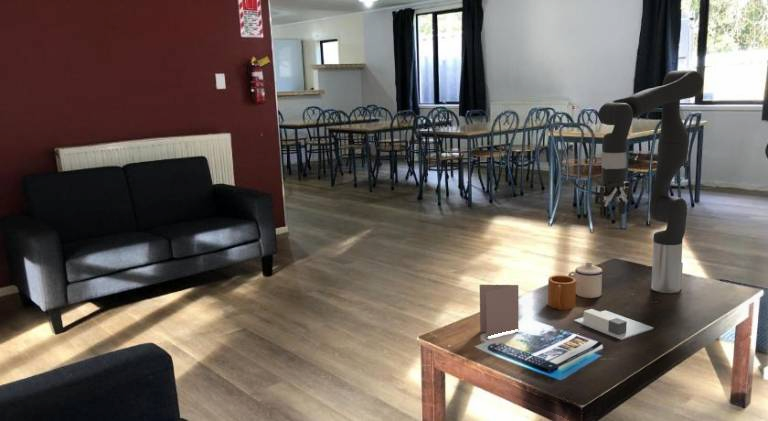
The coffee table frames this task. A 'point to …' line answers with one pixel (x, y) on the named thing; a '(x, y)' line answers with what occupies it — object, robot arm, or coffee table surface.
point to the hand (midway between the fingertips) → (612, 215)
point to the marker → (605, 321)
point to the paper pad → (631, 326)
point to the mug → (561, 292)
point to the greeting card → (498, 308)
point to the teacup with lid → (588, 280)
